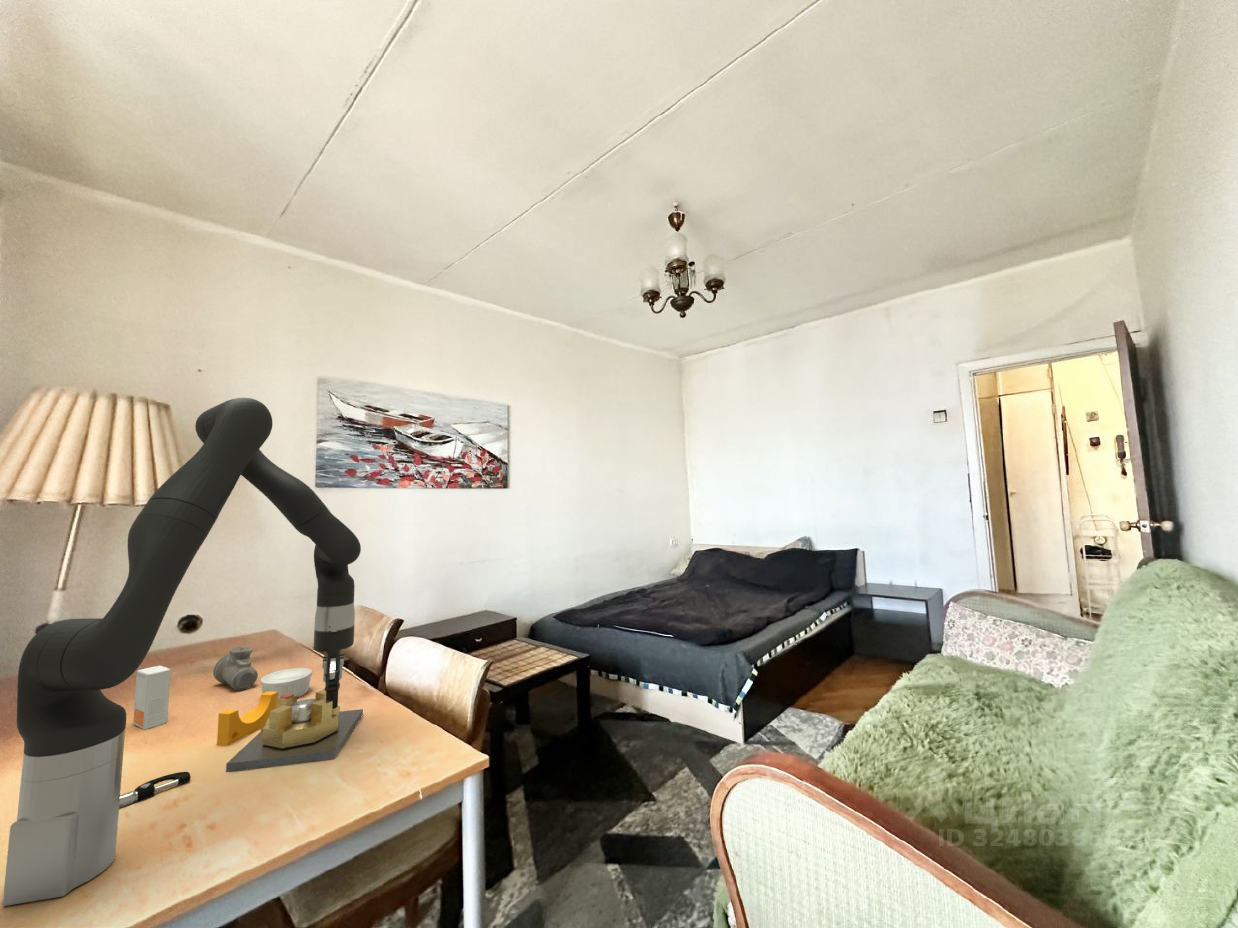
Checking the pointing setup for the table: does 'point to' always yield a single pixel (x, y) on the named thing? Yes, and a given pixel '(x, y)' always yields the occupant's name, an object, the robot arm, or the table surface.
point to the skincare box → (152, 697)
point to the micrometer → (152, 788)
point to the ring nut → (288, 735)
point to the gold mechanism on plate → (316, 751)
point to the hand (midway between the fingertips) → (331, 707)
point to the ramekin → (287, 681)
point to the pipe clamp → (245, 720)
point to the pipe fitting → (236, 669)
